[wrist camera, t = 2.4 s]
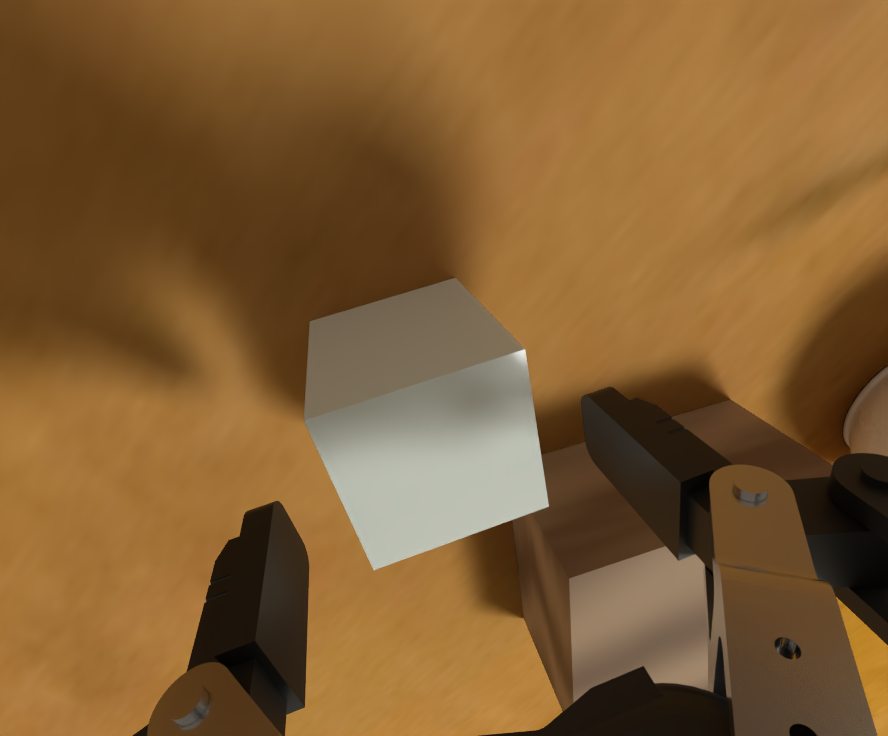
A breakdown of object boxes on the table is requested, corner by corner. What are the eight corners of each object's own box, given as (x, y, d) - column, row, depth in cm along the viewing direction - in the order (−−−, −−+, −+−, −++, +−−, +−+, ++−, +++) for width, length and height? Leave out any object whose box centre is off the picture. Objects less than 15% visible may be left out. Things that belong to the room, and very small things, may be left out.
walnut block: (503, 461, 20) (569, 578, 14) (726, 396, 21) (858, 481, 16) (522, 614, 25) (574, 739, 20) (699, 554, 26) (791, 656, 21)
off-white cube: (309, 320, 15) (303, 420, 10) (455, 277, 15) (524, 349, 10) (357, 439, 17) (373, 570, 12) (481, 398, 18) (548, 506, 12)
